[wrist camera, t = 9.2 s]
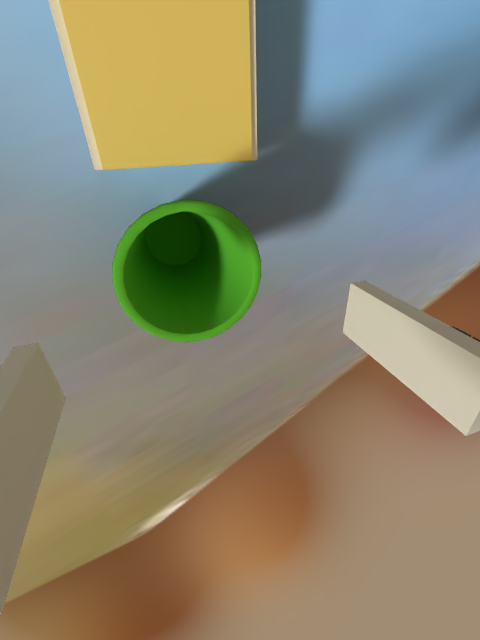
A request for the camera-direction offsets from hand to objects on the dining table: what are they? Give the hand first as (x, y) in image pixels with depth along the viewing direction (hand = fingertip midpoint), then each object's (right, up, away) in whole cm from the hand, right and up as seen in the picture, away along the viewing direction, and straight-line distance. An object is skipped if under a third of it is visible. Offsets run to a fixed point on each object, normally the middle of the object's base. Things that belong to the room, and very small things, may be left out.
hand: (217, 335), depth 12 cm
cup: (-5, +8, +14) cm, 17 cm away
